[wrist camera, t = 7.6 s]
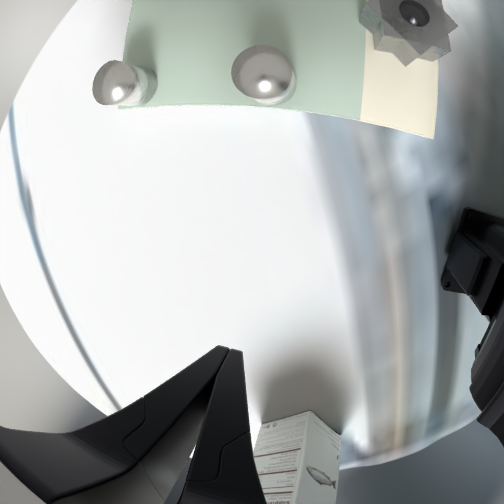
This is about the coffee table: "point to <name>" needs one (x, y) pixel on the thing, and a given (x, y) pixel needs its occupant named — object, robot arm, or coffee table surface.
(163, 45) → the mat
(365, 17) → the gear
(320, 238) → the coffee table surface
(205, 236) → the coffee table surface
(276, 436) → the supplement box
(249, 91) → the spacer field
